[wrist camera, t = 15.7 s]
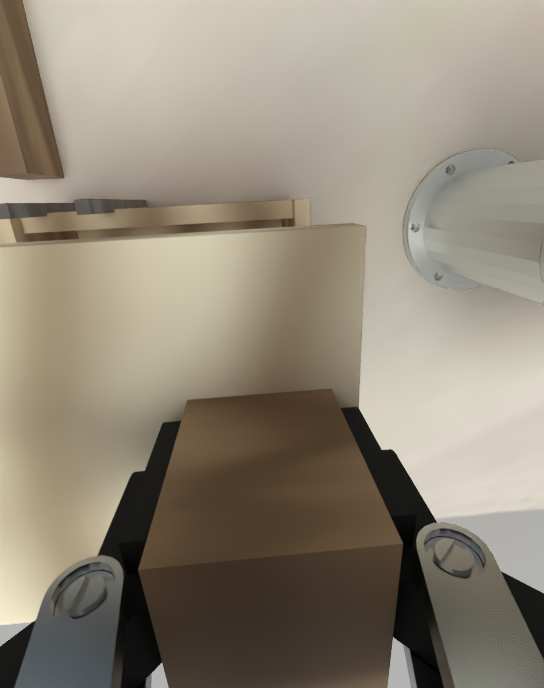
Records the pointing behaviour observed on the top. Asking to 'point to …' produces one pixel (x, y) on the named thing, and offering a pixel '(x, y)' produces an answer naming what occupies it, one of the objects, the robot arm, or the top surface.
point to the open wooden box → (141, 218)
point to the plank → (23, 103)
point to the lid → (202, 445)
